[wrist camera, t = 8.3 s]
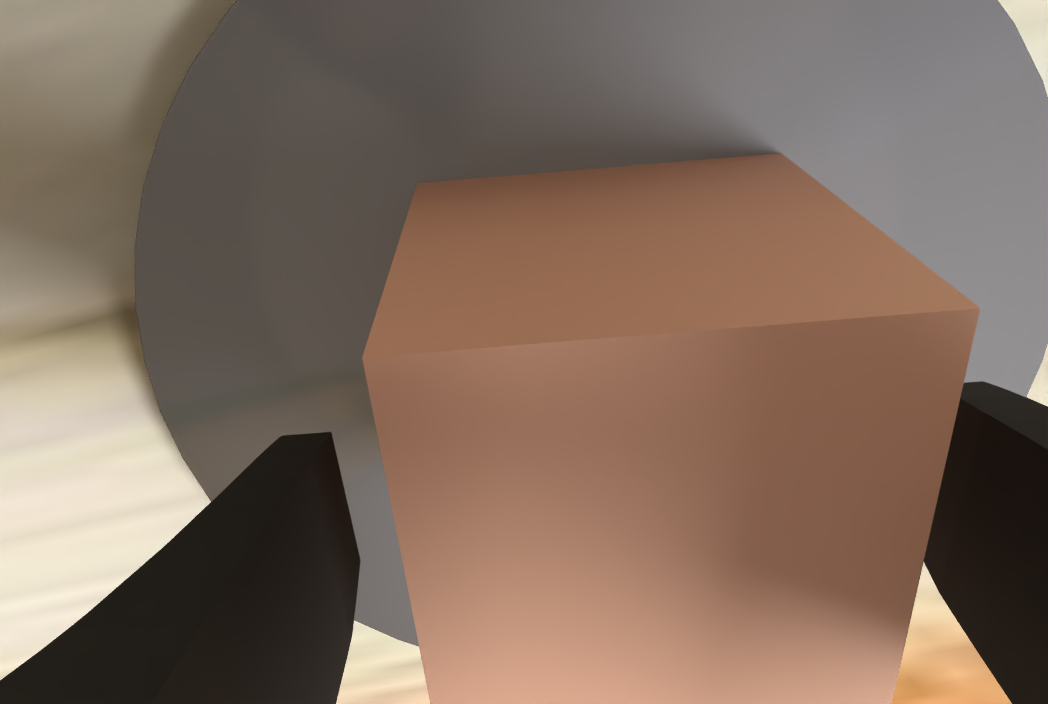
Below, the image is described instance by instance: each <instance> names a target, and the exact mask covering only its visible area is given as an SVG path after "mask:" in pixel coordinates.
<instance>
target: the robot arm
mask: <svg viewBox="0 0 1048 704" xmlns="http://www.w3.org/2000/svg"><path fill="white" fill-rule="evenodd" d="M360 562H361V560H360V555H359V551H358V547H357V542H356V538H355V533H354V529H353V525H352V520H351V516H350V511H349V507H348V503H347V498H346V494H345V489H344V485H343V481H342V476H341V472H340V467H339V463H338V459H337V454H336V450H335V446H334V441H333V437H332V432H322V433H309V434H296V435H283V436H280V437H279V438H278V439H277V440H276V441H274V442H273V443H272V444H271V445H270V446H269V447H268V448H267V449H266V450H265V451H263V452H262V453H261V454H260V455H259V456H258V457H257V458H256V459H255V460H254V461H253V462H252V463H251V464H250V465H249V466H248V467H247V468H246V469H245V470H244V471H243V472H242V473H241V474H240V475H239V476H238V477H237V478H236V479H235V480H233V481H232V482H231V483H230V484H229V485H228V486H227V487H226V488H225V489H224V490H223V491H222V492H221V493H220V494H219V495H218V496H217V497H216V498H215V499H214V500H213V501H212V502H211V503H210V504H209V505H208V506H207V507H205V508H204V509H203V510H202V511H201V512H200V513H199V514H198V515H197V516H196V517H195V518H194V519H193V520H192V521H191V522H190V523H189V524H188V525H186V526H185V527H184V528H183V529H182V530H181V531H180V532H179V533H178V534H177V535H176V536H175V537H174V538H173V539H172V540H171V541H170V542H169V543H167V544H166V545H165V546H164V547H163V548H162V549H161V550H160V551H158V552H157V553H156V554H155V555H154V556H153V557H152V558H150V559H149V560H148V561H147V562H146V563H145V564H144V565H142V566H141V567H140V568H139V569H138V570H137V571H135V572H134V573H133V574H132V575H131V576H130V577H129V578H127V579H126V580H125V581H124V582H123V583H122V584H121V585H119V586H118V587H117V588H116V589H115V590H114V591H112V592H111V593H110V594H109V595H108V596H107V597H106V598H104V599H103V600H102V601H101V602H100V603H99V604H98V605H96V606H95V607H94V608H93V609H92V610H91V611H89V612H88V613H87V614H86V615H85V616H83V617H82V618H81V619H80V620H78V621H77V622H76V623H75V624H74V625H72V626H71V627H70V628H69V629H67V630H66V631H65V632H64V633H62V634H61V635H60V636H58V637H57V638H56V639H55V640H53V641H52V642H51V643H50V644H48V645H47V646H46V647H44V648H43V649H42V650H41V651H39V652H38V653H37V654H35V655H34V656H33V657H31V658H30V659H29V660H27V661H26V662H25V663H23V664H22V665H21V666H19V667H18V668H16V669H15V670H14V671H12V672H11V673H10V674H8V675H7V676H6V677H4V678H3V679H2V680H0V704H336V701H337V696H338V692H339V688H340V684H341V680H342V676H343V672H344V668H345V664H346V659H347V655H348V651H349V647H350V642H351V638H352V631H353V623H354V615H355V608H356V599H357V590H358V581H359V571H360ZM924 563H925V565H926V567H927V569H928V571H929V573H930V575H931V577H932V579H933V581H934V583H935V585H936V587H937V589H938V591H939V593H940V594H941V596H942V597H943V599H944V601H945V602H946V604H947V605H948V607H949V609H950V610H951V612H952V613H953V615H954V616H955V618H956V619H957V621H958V622H959V624H960V625H961V627H962V629H963V630H964V632H965V633H966V635H967V636H968V638H969V639H970V641H971V642H972V644H973V645H974V647H975V648H976V650H977V652H978V653H979V655H980V656H981V658H982V659H983V661H984V662H985V664H986V665H987V667H988V668H989V670H990V671H991V673H992V674H993V676H994V677H995V679H996V680H997V682H998V683H999V685H1000V686H1001V688H1002V689H1003V691H1004V692H1005V694H1006V695H1007V697H1008V698H1009V700H1010V701H1011V703H1012V704H1048V407H1047V406H1045V405H1043V404H1040V403H1038V402H1036V401H1033V400H1031V399H1029V398H1026V397H1024V396H1021V395H1019V394H1017V393H1014V392H1012V391H1009V390H1006V389H1004V388H1001V387H998V386H995V385H993V384H990V383H987V382H984V381H980V382H967V383H964V384H963V388H962V392H961V397H960V401H959V406H958V410H957V415H956V419H955V424H954V428H953V433H952V437H951V441H950V446H949V450H948V455H947V459H946V464H945V468H944V473H943V477H942V481H941V486H940V490H939V495H938V499H937V504H936V508H935V513H934V517H933V521H932V526H931V530H930V535H929V539H928V544H927V548H926V553H925V557H924Z"/></svg>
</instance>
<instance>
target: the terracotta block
mask: <svg viewBox="0 0 1048 704" xmlns="http://www.w3.org/2000/svg"><path fill="white" fill-rule="evenodd" d="M979 312H980V307H978V306H977V305H976V304H974V303H973V302H972V301H971V300H969V299H968V298H967V297H965V296H964V295H963V294H962V293H960V292H959V291H958V290H956V289H955V288H954V287H953V286H951V285H950V284H949V283H947V282H946V281H945V280H944V279H942V278H941V277H940V276H938V275H937V274H936V273H935V272H933V271H932V270H931V269H929V268H928V267H927V266H926V265H924V264H923V263H922V262H921V261H919V260H918V259H917V258H915V257H914V256H913V255H912V254H910V253H909V252H908V251H906V250H905V249H904V248H903V247H901V246H900V245H899V244H897V243H896V242H895V241H894V240H892V239H891V238H890V237H888V236H887V235H886V234H885V233H883V232H882V231H881V230H879V229H878V228H877V227H876V226H874V225H873V224H872V223H870V222H869V221H868V220H867V219H865V218H864V217H863V216H861V215H860V214H859V213H858V212H856V211H855V210H854V209H852V208H851V207H850V206H849V205H847V204H846V203H845V202H844V201H842V200H841V199H840V198H838V197H837V196H836V195H835V194H833V193H832V192H831V191H829V190H828V189H827V188H826V187H824V186H823V185H822V184H820V183H819V182H818V181H817V180H815V179H814V178H813V177H811V176H810V175H809V174H808V173H806V172H805V171H804V170H802V169H801V168H800V167H799V166H797V165H796V164H795V163H793V162H792V161H791V160H790V159H788V158H787V157H786V156H784V155H783V154H782V153H778V154H765V155H753V156H741V157H729V158H717V159H705V160H692V161H680V162H668V163H656V164H644V165H632V166H619V167H607V168H595V169H583V170H571V171H559V172H546V173H534V174H522V175H510V176H498V177H486V178H473V179H461V180H449V181H437V182H425V183H417V186H416V189H415V192H414V195H413V198H412V202H411V205H410V208H409V211H408V214H407V217H406V221H405V224H404V227H403V230H402V233H401V236H400V240H399V243H398V246H397V249H396V252H395V255H394V259H393V262H392V265H391V268H390V271H389V274H388V278H387V281H386V284H385V287H384V290H383V293H382V297H381V300H380V303H379V306H378V309H377V312H376V315H375V319H374V322H373V325H372V328H371V331H370V334H369V338H368V341H367V344H366V347H365V350H364V353H363V357H362V360H363V365H364V370H365V375H366V380H367V385H368V390H369V395H370V400H371V405H372V410H373V415H374V420H375V425H376V430H377V436H378V441H379V446H380V451H381V456H382V461H383V466H384V471H385V476H386V481H387V486H388V491H389V496H390V501H391V506H392V511H393V517H394V522H395V527H396V532H397V537H398V542H399V547H400V552H401V557H402V562H403V567H404V572H405V577H406V582H407V587H408V592H409V597H410V603H411V608H412V613H413V618H414V623H415V628H416V633H417V638H418V643H419V648H420V653H421V658H422V663H423V668H424V673H425V678H426V684H427V689H428V694H429V699H430V704H892V699H893V695H894V691H895V686H896V682H897V677H898V673H899V668H900V664H901V659H902V655H903V650H904V646H905V642H906V637H907V633H908V628H909V624H910V619H911V615H912V610H913V606H914V602H915V597H916V593H917V588H918V584H919V579H920V575H921V570H922V566H923V562H924V557H925V553H926V548H927V544H928V539H929V535H930V530H931V526H932V521H933V517H934V513H935V508H936V504H937V499H938V495H939V490H940V486H941V481H942V477H943V473H944V468H945V464H946V459H947V455H948V450H949V446H950V441H951V437H952V433H953V428H954V424H955V419H956V415H957V410H958V406H959V401H960V397H961V392H962V388H963V384H964V379H965V375H966V370H967V366H968V361H969V357H970V352H971V348H972V344H973V339H974V335H975V330H976V326H977V321H978V317H979Z"/></svg>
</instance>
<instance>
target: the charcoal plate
mask: <svg viewBox="0 0 1048 704" xmlns="http://www.w3.org/2000/svg"><path fill="white" fill-rule="evenodd" d="M778 153H782V154H783V155H784V156H786V157H787V158H788V159H790V160H791V161H792V162H793V163H795V164H796V165H797V166H799V167H800V168H801V169H802V170H804V171H805V172H806V173H808V174H809V175H810V176H811V177H813V178H814V179H815V180H817V181H818V182H819V183H820V184H822V185H823V186H824V187H826V188H827V189H828V190H829V191H831V192H832V193H833V194H835V195H836V196H837V197H838V198H840V199H841V200H842V201H844V202H845V203H846V204H847V205H849V206H850V207H851V208H852V209H854V210H855V211H856V212H858V213H859V214H860V215H861V216H863V217H864V218H865V219H867V220H868V221H869V222H870V223H872V224H873V225H874V226H876V227H877V228H878V229H879V230H881V231H882V232H883V233H885V234H886V235H887V236H888V237H890V238H891V239H892V240H894V241H895V242H896V243H897V244H899V245H900V246H901V247H903V248H904V249H905V250H906V251H908V252H909V253H910V254H912V255H913V256H914V257H915V258H917V259H918V260H919V261H921V262H922V263H923V264H924V265H926V266H927V267H928V268H929V269H931V270H932V271H933V272H935V273H936V274H937V275H938V276H940V277H941V278H942V279H944V280H945V281H946V282H947V283H949V284H950V285H951V286H953V287H954V288H955V289H956V290H958V291H959V292H960V293H962V294H963V295H964V296H965V297H967V298H968V299H969V300H971V301H972V302H973V303H974V304H976V305H977V306H978V307H980V312H979V317H978V321H977V326H976V330H975V335H974V339H973V344H972V348H971V352H970V357H969V361H968V366H967V370H966V375H965V379H964V383H967V382H980V381H984V382H987V383H990V384H993V385H995V386H998V387H1001V388H1004V389H1006V390H1009V391H1012V392H1014V393H1017V394H1019V395H1021V396H1024V397H1026V396H1027V394H1028V392H1029V389H1030V387H1031V385H1032V383H1033V381H1034V378H1035V376H1036V374H1037V372H1038V370H1039V367H1040V365H1041V363H1042V360H1043V357H1044V353H1045V350H1046V347H1047V344H1048V97H1047V94H1046V90H1045V87H1044V84H1043V80H1042V78H1041V76H1040V74H1039V72H1038V70H1037V68H1036V66H1035V64H1034V62H1033V60H1032V58H1031V56H1030V54H1029V52H1028V50H1027V48H1026V46H1025V44H1024V42H1023V40H1022V38H1021V36H1020V34H1019V32H1018V30H1017V28H1016V26H1015V24H1014V22H1013V21H1012V19H1011V18H1010V17H1009V15H1008V14H1007V12H1006V11H1005V10H1004V8H1003V7H1002V6H1001V4H1000V3H999V1H998V0H237V1H236V2H235V3H234V4H233V6H232V7H231V8H230V9H229V10H228V12H227V13H226V15H225V16H224V17H223V19H222V20H221V22H220V23H219V25H218V26H217V28H216V29H215V31H214V32H213V34H212V35H211V37H210V38H209V40H208V41H207V42H206V44H205V45H204V47H203V48H202V50H201V51H200V53H199V54H198V56H197V57H196V59H195V60H194V62H193V63H192V65H191V66H190V68H189V70H188V72H187V74H186V76H185V78H184V80H183V82H182V84H181V87H180V89H179V91H178V93H177V95H176V97H175V99H174V101H173V103H172V106H171V108H170V110H169V112H168V114H167V116H166V118H165V120H164V122H163V124H162V127H161V129H160V133H159V136H158V139H157V143H156V146H155V149H154V153H153V156H152V160H151V163H150V166H149V170H148V173H147V176H146V180H145V183H144V186H143V191H142V199H141V206H140V213H139V220H138V228H137V235H136V242H135V306H136V312H137V318H138V324H139V330H140V337H141V343H142V349H143V355H144V361H145V364H146V367H147V370H148V373H149V377H150V380H151V383H152V386H153V389H154V392H155V396H156V399H157V402H158V405H159V408H160V411H161V413H162V416H163V418H164V420H165V422H166V424H167V426H168V428H169V430H170V432H171V434H172V437H173V439H174V441H175V443H176V445H177V447H178V449H179V451H180V453H181V455H182V458H183V459H184V461H185V462H186V464H187V465H188V467H189V468H190V470H191V471H192V473H193V474H194V476H195V478H196V479H197V481H198V482H199V484H200V485H201V487H202V488H203V490H204V491H205V493H206V494H207V496H208V497H209V499H210V500H211V502H212V501H213V500H214V499H215V498H216V497H217V496H218V495H219V494H220V493H221V492H222V491H223V490H224V489H225V488H226V487H227V486H228V485H229V484H230V483H231V482H232V481H233V480H235V479H236V478H237V477H238V476H239V475H240V474H241V473H242V472H243V471H244V470H245V469H246V468H247V467H248V466H249V465H250V464H251V463H252V462H253V461H254V460H255V459H256V458H257V457H258V456H259V455H260V454H261V453H262V452H263V451H265V450H266V449H267V448H268V447H269V446H270V445H271V444H272V443H273V442H274V441H276V440H277V439H278V438H279V437H280V436H283V435H296V434H309V433H322V432H332V437H333V441H334V446H335V450H336V454H337V459H338V463H339V467H340V472H341V476H342V481H343V485H344V489H345V494H346V498H347V503H348V507H349V511H350V516H351V520H352V525H353V529H354V533H355V538H356V542H357V547H358V551H359V555H360V560H361V562H360V571H359V581H358V590H357V599H356V608H355V615H354V620H355V621H357V622H359V623H362V624H364V625H366V626H369V627H371V628H373V629H375V630H378V631H380V632H382V633H384V634H387V635H389V636H391V637H393V638H396V639H398V640H401V641H404V642H407V643H410V644H413V645H416V646H419V643H418V638H417V633H416V628H415V623H414V618H413V613H412V608H411V603H410V597H409V592H408V587H407V582H406V577H405V572H404V567H403V562H402V557H401V552H400V547H399V542H398V537H397V532H396V527H395V522H394V517H393V511H392V506H391V501H390V496H389V491H388V486H387V481H386V476H385V471H384V466H383V461H382V456H381V451H380V446H379V441H378V436H377V430H376V425H375V420H374V415H373V410H372V405H371V400H370V395H369V390H368V385H367V380H366V375H365V370H364V365H363V360H362V357H363V353H364V350H365V347H366V344H367V341H368V338H369V334H370V331H371V328H372V325H373V322H374V319H375V315H376V312H377V309H378V306H379V303H380V300H381V297H382V293H383V290H384V287H385V284H386V281H387V278H388V274H389V271H390V268H391V265H392V262H393V259H394V255H395V252H396V249H397V246H398V243H399V240H400V236H401V233H402V230H403V227H404V224H405V221H406V217H407V214H408V211H409V208H410V205H411V202H412V198H413V195H414V192H415V189H416V186H417V183H425V182H437V181H449V180H461V179H473V178H486V177H498V176H510V175H522V174H534V173H546V172H559V171H571V170H583V169H595V168H607V167H619V166H632V165H644V164H656V163H668V162H680V161H692V160H705V159H717V158H729V157H741V156H753V155H765V154H778Z"/></svg>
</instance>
